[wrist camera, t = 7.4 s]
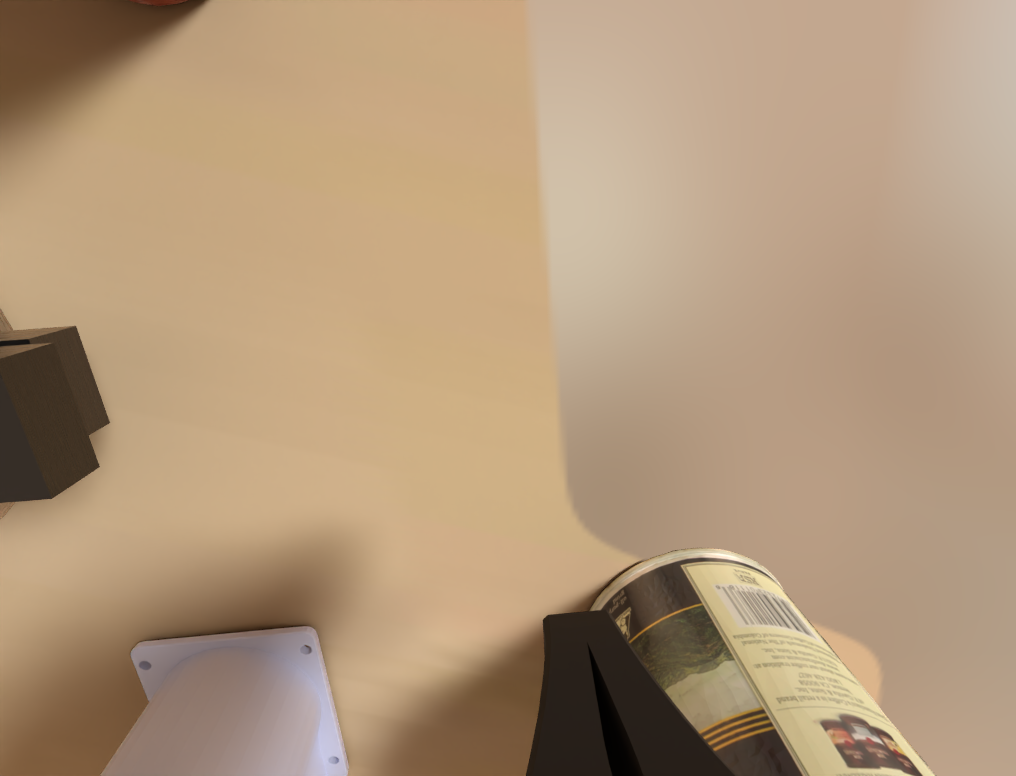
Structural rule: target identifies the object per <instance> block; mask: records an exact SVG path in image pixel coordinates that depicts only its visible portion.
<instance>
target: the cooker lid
mask: <svg viewBox="0 0 1016 776" xmlns="http://www.w3.org/2000/svg"><path fill="white" fill-rule="evenodd" d="M99 467H100V466H99V463H98V461H97V458H96V455H95V453H94V450H93V447H92V444H91V442H90V439H89V436H88V434H87V431H86V428H85V425H84V423H83V420H82V417H81V415H80V412H79V409H78V406H77V404H76V401H75V398H74V395H73V393H72V390H71V387H70V385H69V382H68V379H67V376H66V374H65V371H64V368H63V366H62V363H61V360H60V357H59V355H58V352H57V349H56V347H55V344H54V343H42V344H28V345H15V346H1V347H0V503H6V502H18V501H30V500H42V499H52V498H54V497H55V496H57V495H58V494H60V493H61V492H63V491H64V490H66V489H67V488H69V487H70V486H72V485H73V484H75V483H76V482H78V481H79V480H81V479H82V478H84V477H85V476H87V475H88V474H90V473H91V472H93V471H94V470H96V469H97V468H99Z"/></svg>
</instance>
